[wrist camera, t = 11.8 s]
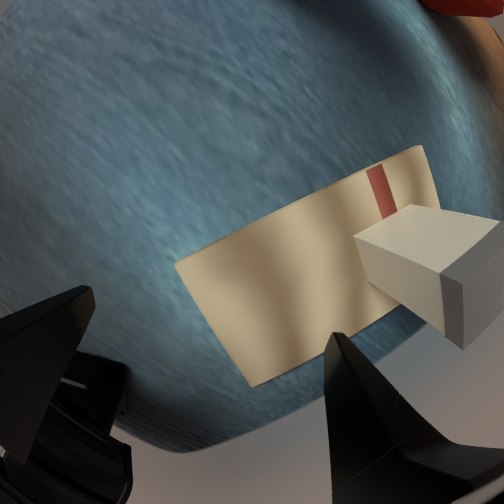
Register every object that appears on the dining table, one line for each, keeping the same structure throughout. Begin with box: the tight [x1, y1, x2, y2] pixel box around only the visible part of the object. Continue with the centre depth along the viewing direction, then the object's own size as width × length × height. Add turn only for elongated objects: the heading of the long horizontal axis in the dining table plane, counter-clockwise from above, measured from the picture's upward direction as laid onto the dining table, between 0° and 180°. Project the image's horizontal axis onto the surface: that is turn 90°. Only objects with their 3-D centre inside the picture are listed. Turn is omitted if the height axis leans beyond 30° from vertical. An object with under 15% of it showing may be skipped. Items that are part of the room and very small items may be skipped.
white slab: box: [353, 204, 504, 350], centre depth 15 cm, size 6×4×11 cm
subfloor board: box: [174, 145, 440, 388], centre depth 20 cm, size 22×12×1 cm, turn 116°
